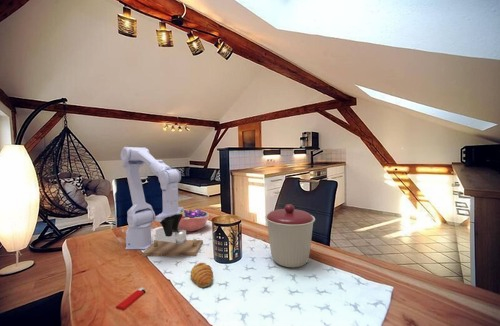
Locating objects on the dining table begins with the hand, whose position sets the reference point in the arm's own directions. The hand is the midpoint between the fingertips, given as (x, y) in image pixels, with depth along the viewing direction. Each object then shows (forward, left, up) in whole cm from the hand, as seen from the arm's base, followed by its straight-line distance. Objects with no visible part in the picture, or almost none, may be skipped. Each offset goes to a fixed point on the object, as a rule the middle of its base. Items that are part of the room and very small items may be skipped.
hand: (171, 234), depth 82 cm
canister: (+46, -4, -9) cm, 47 cm away
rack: (-1, +6, -9) cm, 11 cm away
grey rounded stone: (0, 0, -2) cm, 2 cm away
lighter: (-1, -24, -10) cm, 26 cm away
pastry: (+16, -15, -9) cm, 24 cm away
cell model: (-1, +30, -9) cm, 32 cm away
